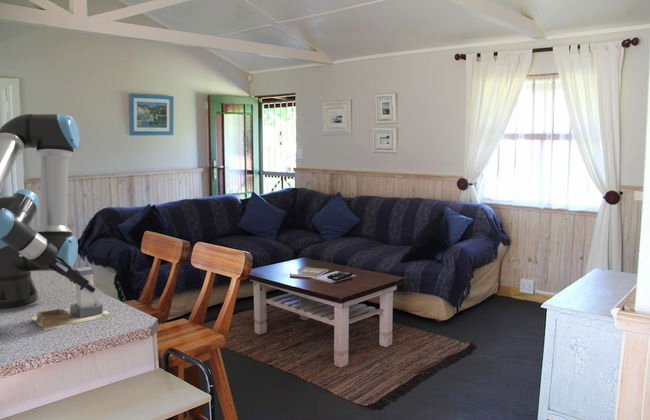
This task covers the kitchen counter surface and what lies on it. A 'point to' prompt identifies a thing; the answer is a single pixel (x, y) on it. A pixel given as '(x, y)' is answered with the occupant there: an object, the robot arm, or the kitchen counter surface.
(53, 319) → the holster
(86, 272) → the plug
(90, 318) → the board
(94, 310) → the port
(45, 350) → the kitchen counter surface
